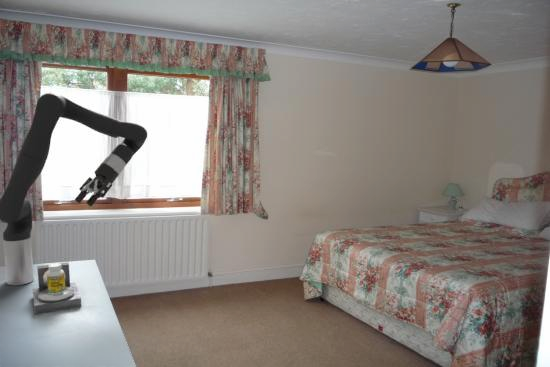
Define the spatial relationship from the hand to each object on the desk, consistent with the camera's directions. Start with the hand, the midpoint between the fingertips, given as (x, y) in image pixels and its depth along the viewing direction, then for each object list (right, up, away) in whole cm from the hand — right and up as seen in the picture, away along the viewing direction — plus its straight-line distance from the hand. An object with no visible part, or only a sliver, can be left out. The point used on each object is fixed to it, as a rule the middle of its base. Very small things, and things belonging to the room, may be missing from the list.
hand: (82, 203), depth 169 cm
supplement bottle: (-5, -30, -8) cm, 32 cm away
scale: (-7, -34, -6) cm, 35 cm away
